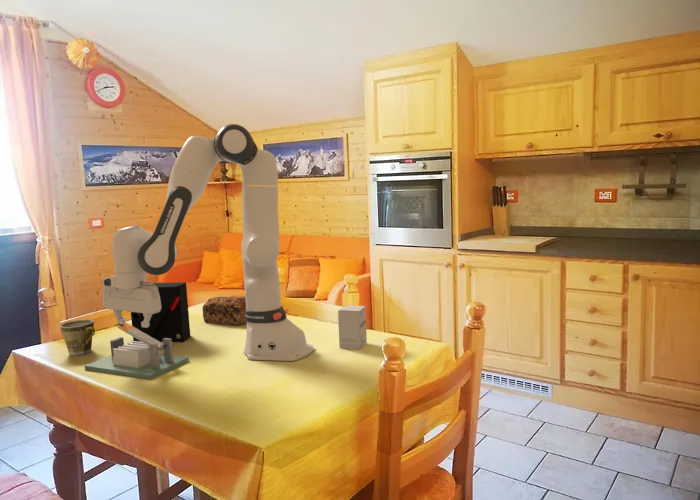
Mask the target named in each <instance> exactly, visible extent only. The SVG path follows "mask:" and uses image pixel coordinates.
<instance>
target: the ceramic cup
mask: <svg viewBox="0 0 700 500" xmlns="http://www.w3.org/2000/svg"><path fill="white" fill-rule="evenodd" d="M94 324H95V321H94V320H93V319H76V320H72V321H71V320H70V321H67V322H64V323H62V324H61V325H60V331H61V334H62V337H63V340H64V342H65V345H66V348H67V352H68V354H69V355H70V356H81V355H85V354H89V353H91V351H92V344H93V337H94V336H95V335H96V330H95V328H94V327H95V326H94Z"/></svg>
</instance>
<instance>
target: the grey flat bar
mask: <svg viewBox="0 0 700 500" xmlns="http://www.w3.org/2000/svg"><path fill="white" fill-rule="evenodd" d="M117 328H118V329H119V330H121V331H123V332H124V333H126V334H127V335H129V336H130V337H134V338H136V339H138V340H139V341H141V342H143V343H145V344H146V345H148V346H149V344H151V343H153V344H158V351H161V350H164V348H166V347H167V345H166V344H163V342H159V341H158V340H156V339H154V338H152V337H151V336H149V335H147V334H145V333H144V332H142V331H140V330H138V329H137V328H135V327H133V326H132V324H130V323H128V322H126V321H125V324H117Z"/></svg>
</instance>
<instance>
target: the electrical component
mask: <svg viewBox="0 0 700 500" xmlns="http://www.w3.org/2000/svg"><path fill="white" fill-rule="evenodd" d="M153 283H154V284H155V285H156V286H157V287H158V291H159V295H160V300H161V310H160V312H158V313H155V314H152V317H151V319H150V321H149V327H147V328H144V327H141V322H142V321H144V318H145V317H143V313H137V312H130V318H131V326H133V327H135V328H137V329H138V330H140V331H142V332H144V333H145V334H147V335H149V336H151V337H152V338H154V339H156V340H158V341H159V342H161V343H163V339H164V338H170V339H171V340H172V343H185V342H186V341H187V340H188V339H190V338H191V329H190V314H189V313H190V312H189V302H188V290H187V289H188V287H187V282H185V281H184V282H183V281H182V282H178V281H177V282H153ZM132 337H133V336H132ZM132 341H138V342H141V341H139V340H138V339H136V338H134V337H133V338H132Z"/></svg>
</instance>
